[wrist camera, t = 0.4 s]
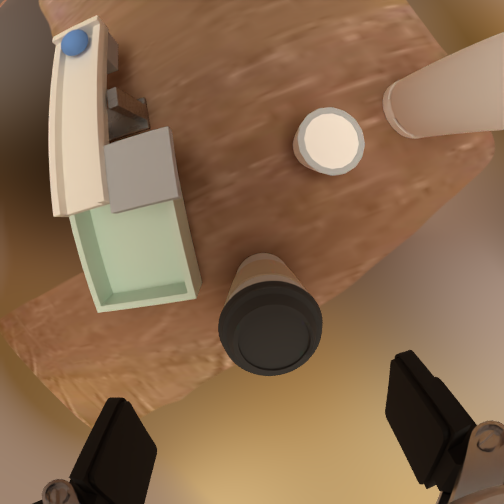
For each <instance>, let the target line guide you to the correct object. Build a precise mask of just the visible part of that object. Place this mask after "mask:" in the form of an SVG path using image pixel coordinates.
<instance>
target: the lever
mask: <svg viewBox="0 0 504 504" xmlns="http://www.w3.org/2000/svg"><path fill="white" fill-rule="evenodd" d="M76 29H79V30H83V31H84V32H86V34H87V35H88V44H87V47H86V48H85V50H84V51H83V52H81V53H80V54H78V55H75V56H68V55H66V54H64V53H63V52H62V50H61V42H62V39H63V37H64V36H65V35H66V34H67V33H68V32H70V31H72V30H76ZM53 43H54V44H55V45H56V49H55V55H54V63H53V71H52V80H51V92H50V107H49V166H50V167H49V169H50V185H51V197H52V207H53V215H54V217H68V216H71V215H75V214H78V213H81V212H84V211H88V210H91V209H94V208H98V207H101V206H105V205H108V204H110V208H111V213H115V214H118V213H122V212H126V211H130V210H134V209H138V208H142V207H146V206H150V205H154V204H158V203H162V202H167V201H171V200H176V199H180V198H182V196H181V190H180V183H179V177H178V171H177V164H176V157H175V150H174V143H173V136H172V130H171V129H170V128H169V127H168V126H167V127H163V128H159V129H156V130H152V131H149V132H145V133H142V134H138V135H135V136H132V137H129V138H126V139H123V140H119V141H116V142H113V143H110V144H109V132H108V113H107V74H109V73H112V72H115V71H117V70H118V44H117V42H116V41H115V40H114V38H113V37H112V36H111V35H110V33H109V32H108V28H107V26H106V25H105V24H104V23H103V21H102V20H101V19H100V17H99V16H98V15H96V16H94V17H92V18H90V19H88V20H85V21H83V22H81V23H79V24H77V25H75V26H73V27H71V28H69V29H67V30H65V31H64V32H62V33H60V34H58V35H56V36H54V37H53Z"/></svg>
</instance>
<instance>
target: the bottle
mask: <svg viewBox="0 0 504 504" xmlns="http://www.w3.org/2000/svg"><path fill="white" fill-rule="evenodd" d="M383 110H384V113H385V116H386V119H387V121H388V122H389V124H390V125H391V126H392V128H393V129H394V130H395V131H397V132H398V133H399V134H400V135H402V136H404V137H407V138H413V139H417V138H423V137H432V136H440V135H449V134H458V133H468V132H479V131H492V130H504V32H502V33H500V34H497V35H495V36H492V37H490V38H487V39H485V40H483V41H480V42H478V43H475V44H473V45H471V46H469V47H466V48H464V49H462V50H460V51H457V52H455V53H453V54H451V55H449V56H447V57H444V58H442V59H440V60H438V61H436V62H434V63H432V64H430V65H428V66H426V67H424V68H422V69H420V70H418V71H416V72H414V73H412V74H410V75H408V76H406V77H404V78H402V79H401V80H398V81H396V82H395V83H393V84H392V85H390V86H389V87H388V88H387V90H386V91H385V93H384V97H383ZM396 119H397V120H398V121H397V120H396ZM398 122H399V123H400V124H399V123H398Z"/></svg>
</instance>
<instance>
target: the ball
mask: <svg viewBox="0 0 504 504" xmlns="http://www.w3.org/2000/svg"><path fill="white" fill-rule="evenodd" d="M87 44H88V35H87V34H86V32H84V31H83V30H79V29H76V30H72V31H70V32H68V33H67V34H66V35H65V36H64V37H63V39H62V42H61V50H62V52H63V53H64V54H66V55H68V56H75V55H78V54H80V53H81V52H83V51H84V50H85V48H86V47H87Z"/></svg>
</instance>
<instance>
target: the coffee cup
mask: <svg viewBox="0 0 504 504" xmlns="http://www.w3.org/2000/svg"><path fill="white" fill-rule="evenodd" d="M218 331H219V337H220V341H221V343H222V345H223V347H224V349H225V351H226V352H227V354H228V356H229V357H230V358H231V360H232V361H233V362H234V363H235V364H236V365H238V366H239V367H241V368H242V369H244V370H246V371H248V372H250V373H253V374H257V375H263V376H275V375H281V374H285V373H288V372H291V371H293V370H295V369H297V368H298V367H300V366H301V365H303V364H304V363H305V362H306V361H307V360H308V359H309V358H310V357H311V356H312V355H313V353H314V352H315V350H316V349H317V347H318V344H319V342H320V338H321V334H322V314H321V311H320V308H319V306H318V304H317V302H316V301H315V300H314V298H313V297H312V296H311V295H310V294H309V293H308V292H307V290H306V289H305V288H304V286H303V285H302V284H301V282H300V281H299V280H298V279H297V277H296V276H295V275H294V274H293V272H292V271H291V270H290V269H289V268H288V267H287V266H286V265H285V263H284V262H283V261H282V260H281V259H280V258H278V257H277V256H275V255H272V254H269V253H258V254H254V255H252V256H250V257H248V258H247V259H245V260H244V261H243V262H242V263H241V265H240V266H239V268H238V270H237V273H236V276H235V278H234V280H233V282H232V285H231V288H230V291H229V293H228V296H227V299H226V302H225V305H224V308H223V310H222V312H221V315H220V318H219V324H218Z"/></svg>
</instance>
